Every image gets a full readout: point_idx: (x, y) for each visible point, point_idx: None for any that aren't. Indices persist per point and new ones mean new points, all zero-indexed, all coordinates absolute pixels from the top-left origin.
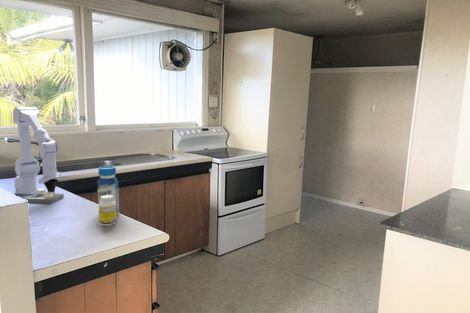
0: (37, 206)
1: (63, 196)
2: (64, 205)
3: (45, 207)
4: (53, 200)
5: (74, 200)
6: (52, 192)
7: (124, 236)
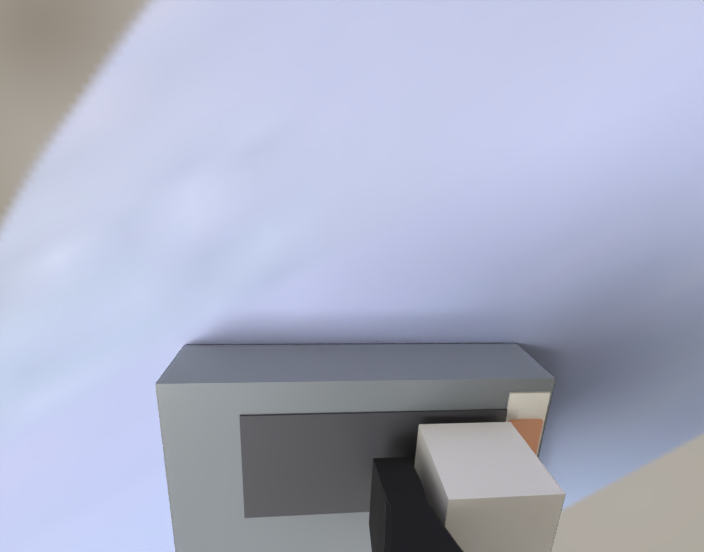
0: (631, 435)
1: (179, 356)
2: (635, 87)
3: (693, 319)
4: (483, 359)
5: (323, 55)
6: (488, 493)
7: None
